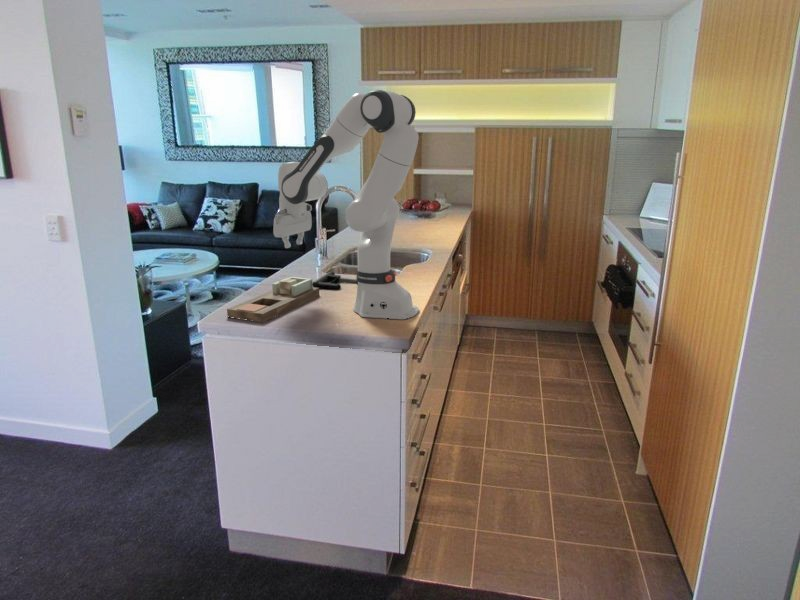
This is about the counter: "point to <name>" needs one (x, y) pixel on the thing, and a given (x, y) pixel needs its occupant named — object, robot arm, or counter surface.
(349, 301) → the counter surface
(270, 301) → the board
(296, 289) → the cubby
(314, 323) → the counter surface
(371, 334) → the counter surface
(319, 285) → the door handle
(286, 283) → the cube
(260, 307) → the tile
